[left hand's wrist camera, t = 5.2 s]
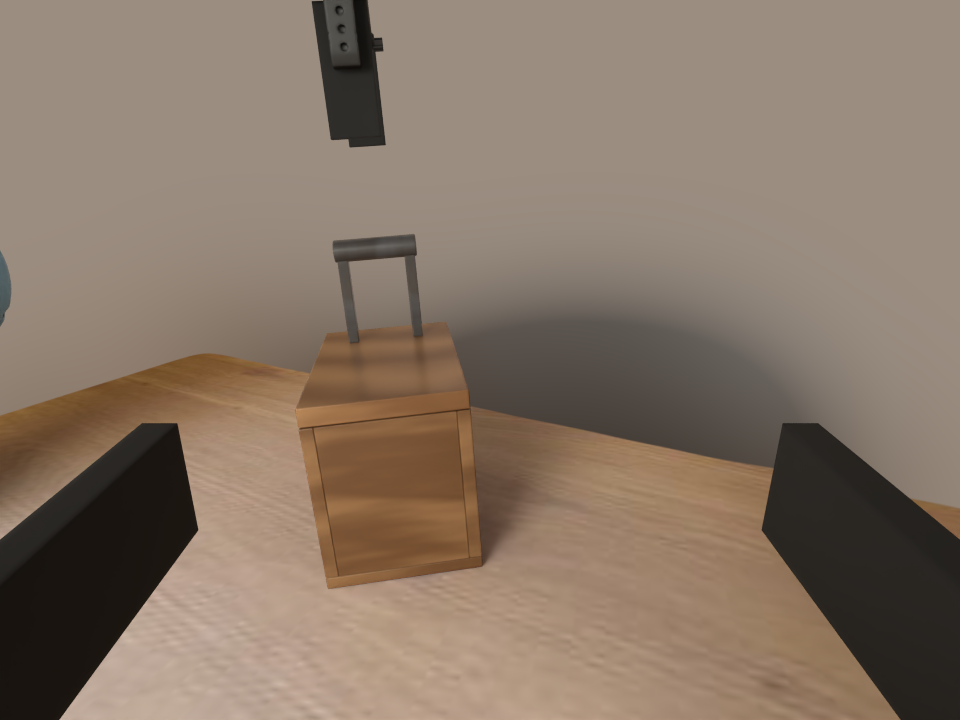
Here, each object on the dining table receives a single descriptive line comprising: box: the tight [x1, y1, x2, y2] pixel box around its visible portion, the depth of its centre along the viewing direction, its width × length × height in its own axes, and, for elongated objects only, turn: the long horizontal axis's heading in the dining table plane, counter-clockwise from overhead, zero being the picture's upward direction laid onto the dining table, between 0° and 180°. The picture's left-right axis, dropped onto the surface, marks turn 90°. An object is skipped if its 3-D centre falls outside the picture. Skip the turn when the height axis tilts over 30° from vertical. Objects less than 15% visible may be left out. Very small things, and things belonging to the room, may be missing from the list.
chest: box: [299, 408, 483, 589], centre depth 40 cm, size 14×9×10 cm, turn 8°
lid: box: [295, 234, 470, 428], centre depth 38 cm, size 15×9×8 cm, turn 8°
